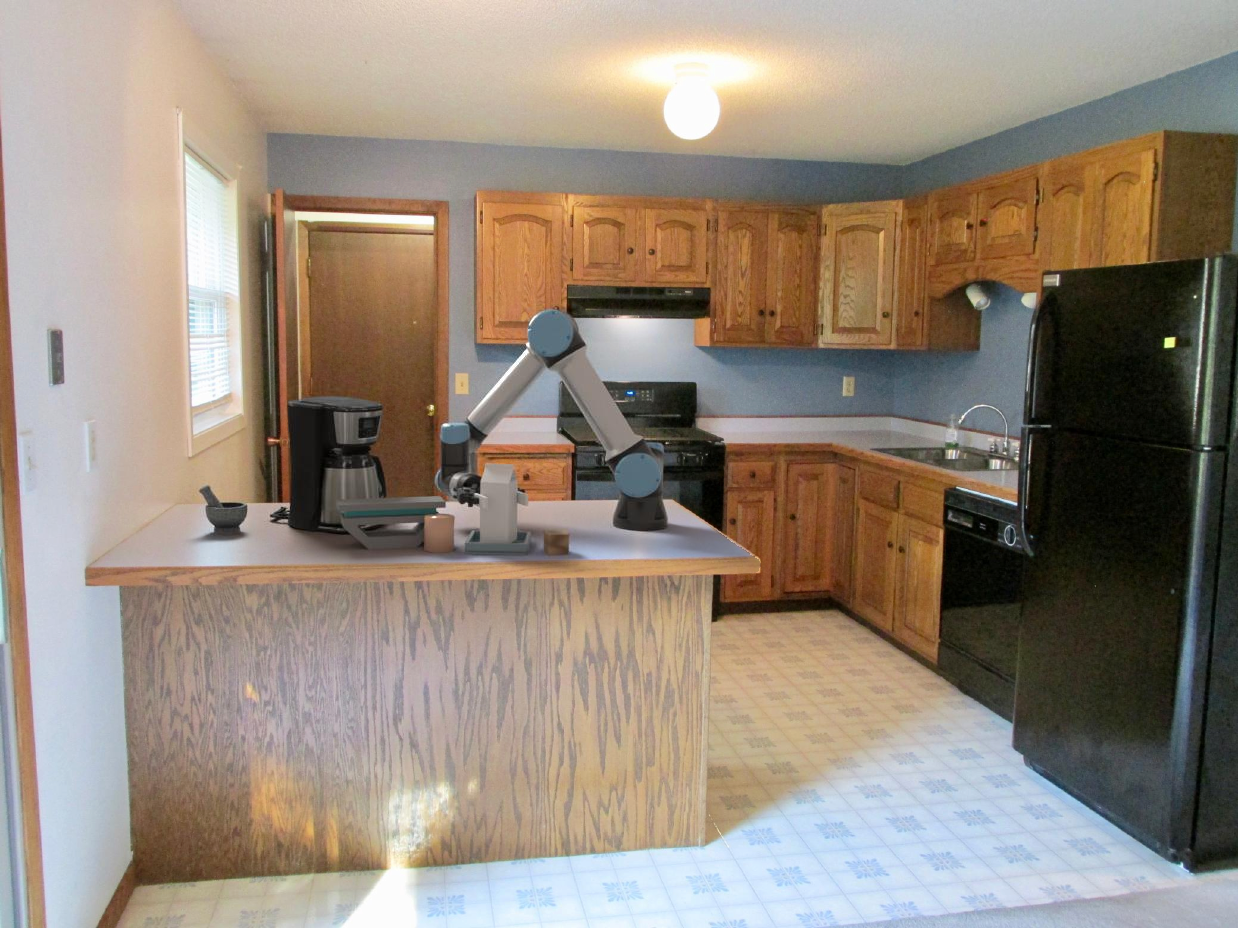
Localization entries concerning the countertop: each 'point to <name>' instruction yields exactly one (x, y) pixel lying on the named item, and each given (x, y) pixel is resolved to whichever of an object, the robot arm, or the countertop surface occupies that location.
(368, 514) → the sharpening stone
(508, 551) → the tray
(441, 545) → the peach round cylinder
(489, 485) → the milk carton
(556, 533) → the walnut block
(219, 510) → the mortar and pestle
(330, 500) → the coffee maker
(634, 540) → the countertop surface
